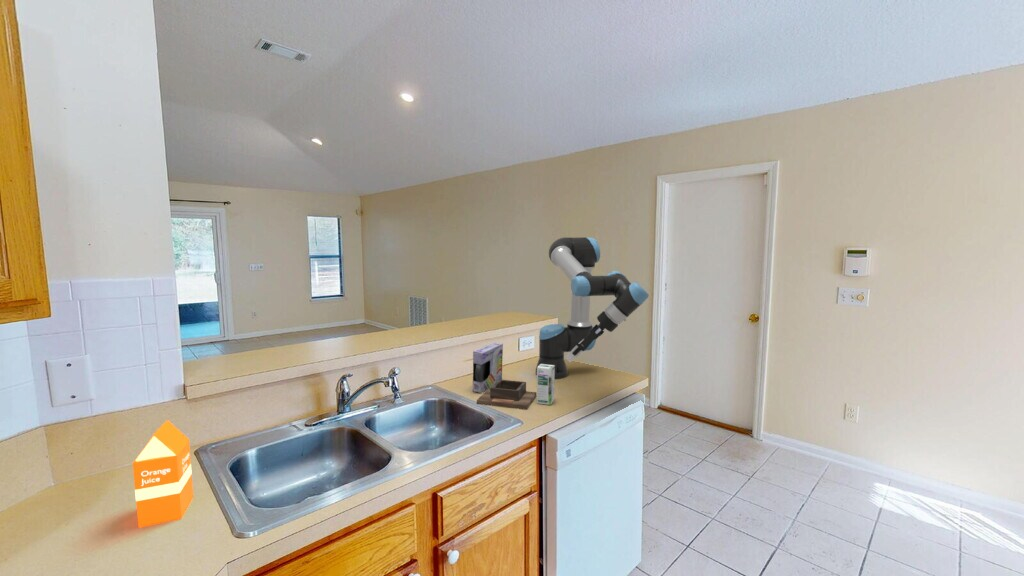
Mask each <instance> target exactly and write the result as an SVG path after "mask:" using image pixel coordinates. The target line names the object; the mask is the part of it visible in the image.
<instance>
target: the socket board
mask: <svg viewBox="0 0 1024 576" xmlns="http://www.w3.org/2000/svg"><path fill="white" fill-rule="evenodd" d="M536 398H537V391H536V392H535V391H527V382H526V381H522V380H521V381H519V380H508V379H502V380H500V379H499V380H498V381H497V382H496V383H495V384H494V385H493V386H492V387H491V388H489V389H487V390H486V391H484V392H483V394H482V395H481V396H479V398H477V399H476V405H483V404H484V406H491V405H492V406H491V407H500V408H501V407H502V408H509V409H510V408H511V409H517V408H519V410H526V411H527V410H528V409H529V407H530V406H531V404H532V403H533V402H534V401H535V399H536Z"/></svg>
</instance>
